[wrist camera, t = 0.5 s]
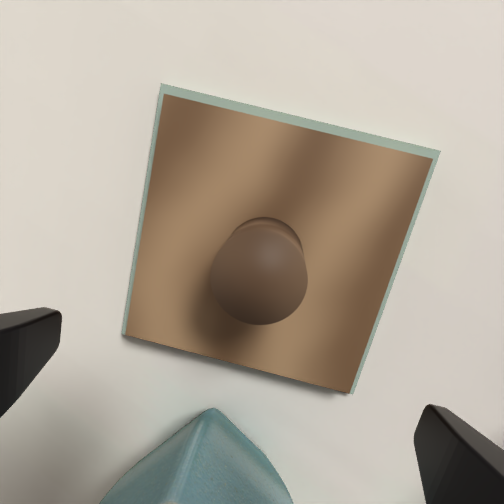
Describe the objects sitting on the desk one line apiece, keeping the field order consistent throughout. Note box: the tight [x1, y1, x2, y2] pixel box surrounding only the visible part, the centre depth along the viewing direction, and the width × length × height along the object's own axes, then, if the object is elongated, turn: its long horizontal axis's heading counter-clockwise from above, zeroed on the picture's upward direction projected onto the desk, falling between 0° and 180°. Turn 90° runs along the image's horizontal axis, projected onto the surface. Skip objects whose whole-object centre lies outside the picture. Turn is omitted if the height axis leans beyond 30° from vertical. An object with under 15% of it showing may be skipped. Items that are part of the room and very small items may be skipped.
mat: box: [122, 83, 441, 394], centre depth 20 cm, size 14×14×1 cm
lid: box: [125, 94, 433, 394], centre depth 17 cm, size 13×13×5 cm
